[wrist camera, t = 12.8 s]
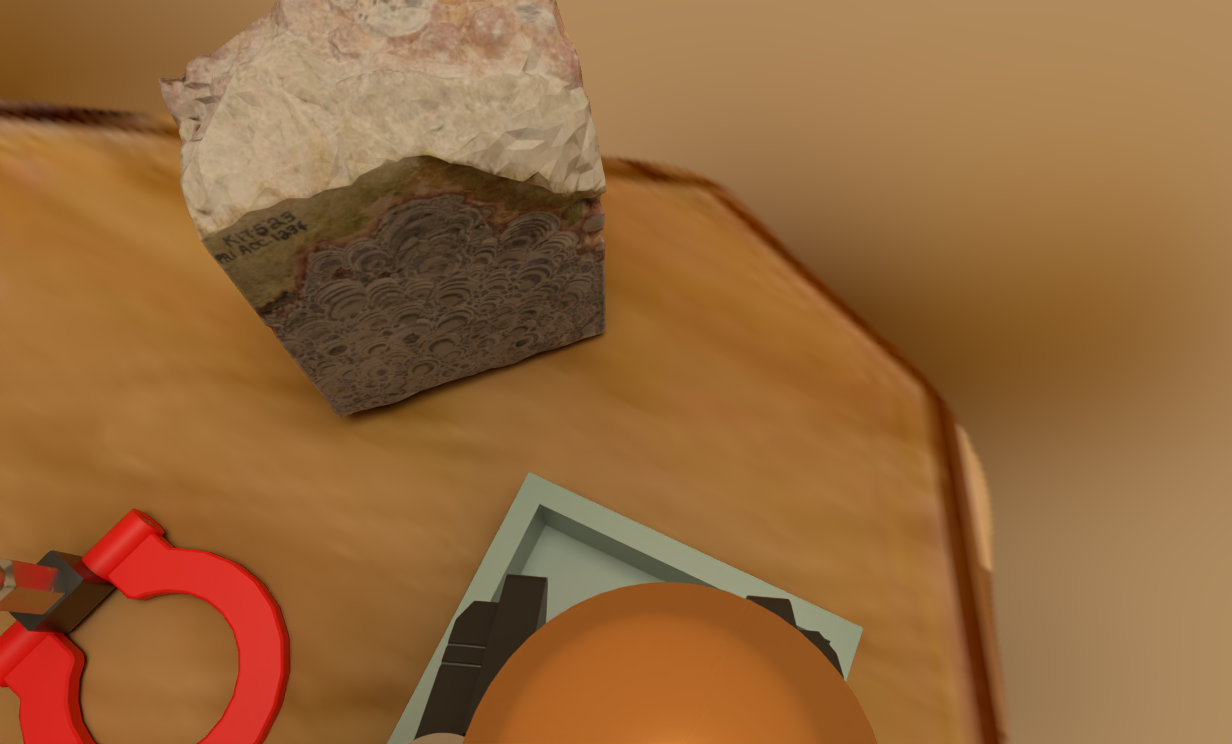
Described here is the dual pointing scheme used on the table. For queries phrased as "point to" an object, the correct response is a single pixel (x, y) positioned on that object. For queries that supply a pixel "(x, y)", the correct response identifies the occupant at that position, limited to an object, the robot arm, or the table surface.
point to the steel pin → (668, 677)
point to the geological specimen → (399, 187)
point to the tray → (601, 571)
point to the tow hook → (140, 570)
